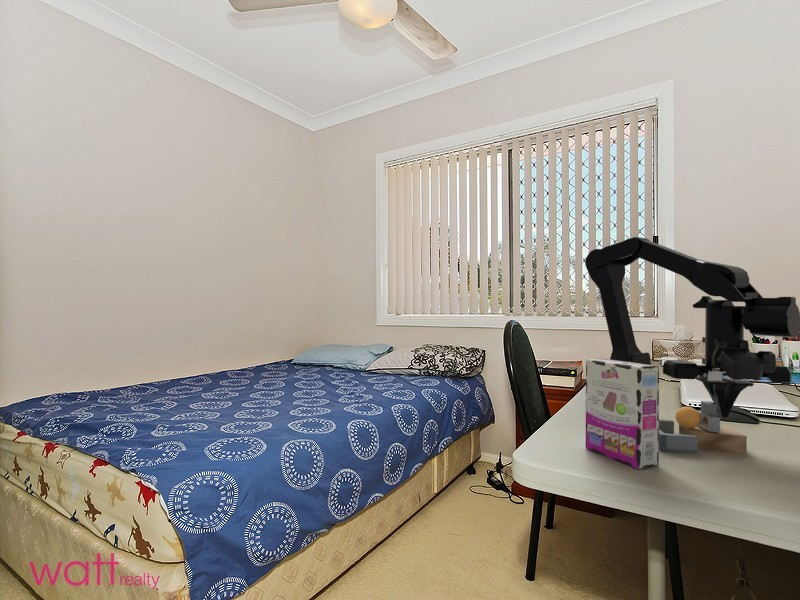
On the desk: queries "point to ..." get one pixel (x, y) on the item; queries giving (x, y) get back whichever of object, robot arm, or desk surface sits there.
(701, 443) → the tan block
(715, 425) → the gray zigzag block
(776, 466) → the desk surface
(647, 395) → the candy bar box
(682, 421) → the ball
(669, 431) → the tray
